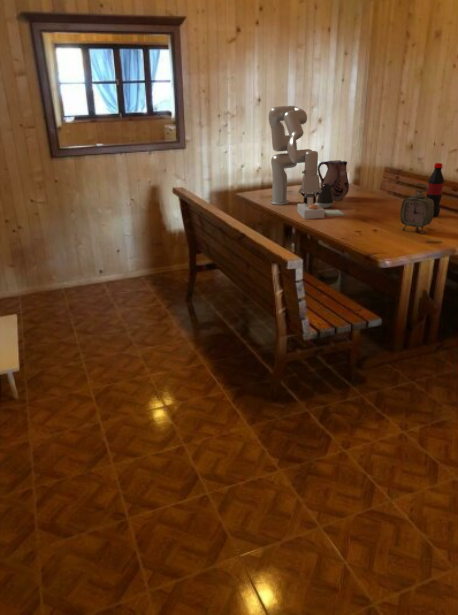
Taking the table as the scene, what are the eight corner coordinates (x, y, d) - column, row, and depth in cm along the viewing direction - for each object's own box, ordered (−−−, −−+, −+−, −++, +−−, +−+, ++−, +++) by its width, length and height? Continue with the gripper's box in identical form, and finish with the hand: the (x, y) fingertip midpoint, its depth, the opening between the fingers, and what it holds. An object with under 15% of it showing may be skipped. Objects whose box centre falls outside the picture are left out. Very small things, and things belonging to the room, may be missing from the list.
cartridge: (304, 213, 310) (305, 193, 305) (311, 212, 310) (312, 193, 305) (306, 214, 306) (307, 194, 301) (313, 214, 306) (314, 194, 301)
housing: (297, 211, 313) (297, 203, 311) (316, 210, 314) (316, 202, 312) (304, 218, 296) (304, 210, 294) (324, 217, 297) (324, 209, 295)
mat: (322, 211, 311) (322, 210, 311) (338, 210, 312) (338, 209, 312) (327, 216, 300) (327, 215, 300) (344, 215, 301) (344, 214, 301)
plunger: (307, 214, 302) (307, 204, 300) (315, 214, 303) (316, 204, 300) (309, 216, 298) (309, 206, 295) (317, 216, 298) (318, 206, 296)
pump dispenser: (333, 209, 316) (334, 184, 310) (316, 209, 318) (317, 184, 312) (333, 205, 325) (335, 181, 319) (317, 205, 327) (318, 181, 321)
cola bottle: (438, 214, 298) (446, 162, 285) (439, 217, 290) (447, 164, 278) (423, 213, 300) (430, 161, 288) (423, 217, 293) (430, 164, 281)
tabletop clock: (398, 230, 269) (403, 183, 259) (406, 227, 275) (412, 180, 264) (424, 235, 259) (431, 186, 249) (432, 231, 265) (439, 183, 255)
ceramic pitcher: (350, 201, 334) (353, 162, 324) (318, 202, 335) (320, 163, 325) (345, 196, 350) (347, 159, 340) (314, 196, 351) (316, 159, 341)
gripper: (298, 174, 294) (297, 205, 301) (326, 173, 295) (324, 204, 303) (295, 172, 300) (294, 202, 308) (323, 171, 302) (321, 201, 309)
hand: (309, 203), depth 305 cm, fingers closed on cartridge, 4 cm apart
